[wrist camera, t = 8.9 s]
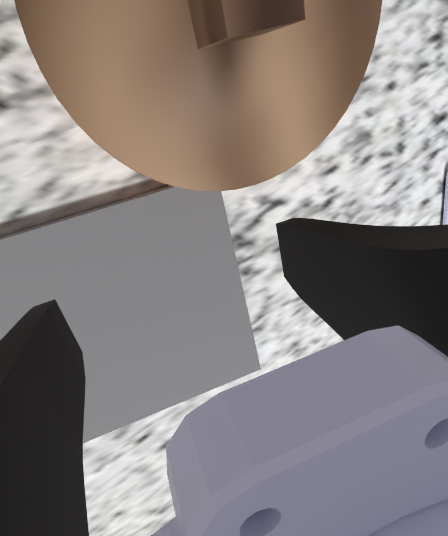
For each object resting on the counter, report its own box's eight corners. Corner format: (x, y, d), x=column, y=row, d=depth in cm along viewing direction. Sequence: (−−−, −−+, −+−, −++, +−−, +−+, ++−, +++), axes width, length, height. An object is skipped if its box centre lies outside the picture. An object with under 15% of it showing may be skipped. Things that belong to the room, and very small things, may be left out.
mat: (214, 172, 21) (217, 174, 21) (257, 364, 28) (260, 369, 28) (-67, 256, 19) (-71, 261, 18) (59, 445, 26) (59, 453, 25)
